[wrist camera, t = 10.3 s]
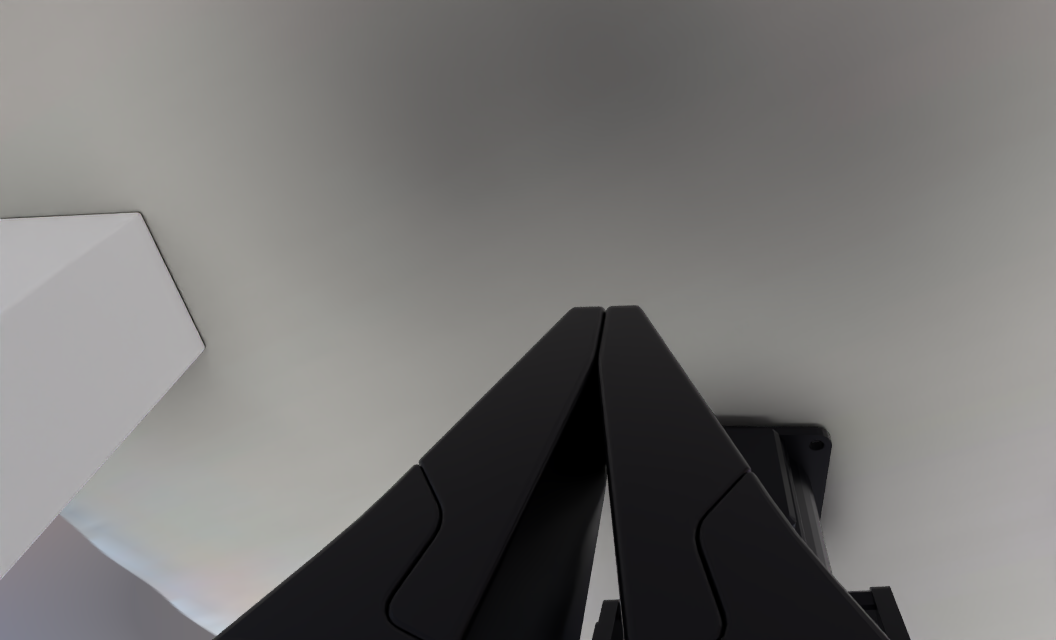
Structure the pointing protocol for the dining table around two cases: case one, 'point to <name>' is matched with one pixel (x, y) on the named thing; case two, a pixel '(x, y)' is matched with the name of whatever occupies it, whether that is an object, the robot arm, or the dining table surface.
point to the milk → (78, 357)
